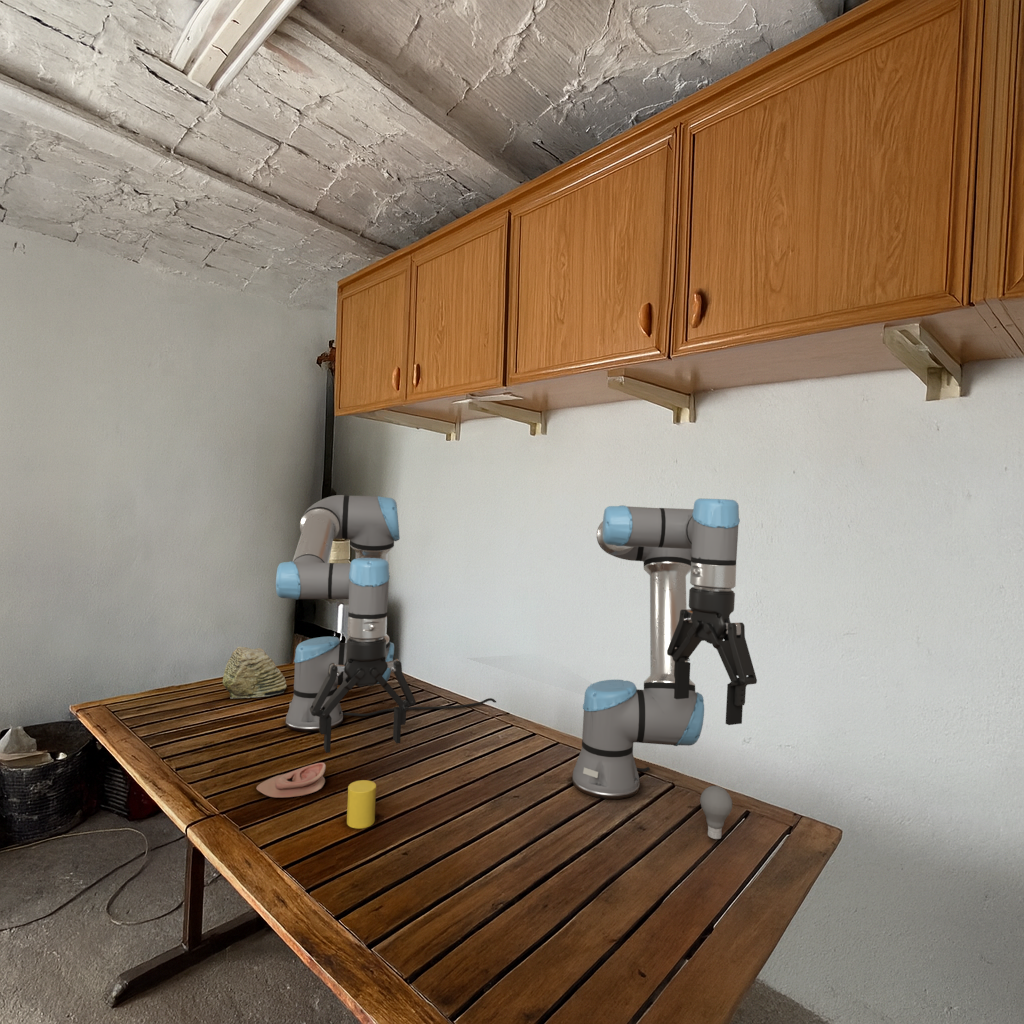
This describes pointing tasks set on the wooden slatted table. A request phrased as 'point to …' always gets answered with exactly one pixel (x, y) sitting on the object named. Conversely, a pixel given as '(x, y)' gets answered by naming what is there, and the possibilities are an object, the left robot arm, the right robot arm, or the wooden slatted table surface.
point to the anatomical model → (295, 782)
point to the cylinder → (361, 804)
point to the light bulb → (715, 809)
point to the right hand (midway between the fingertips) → (706, 710)
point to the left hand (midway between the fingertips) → (362, 745)
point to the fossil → (252, 674)
